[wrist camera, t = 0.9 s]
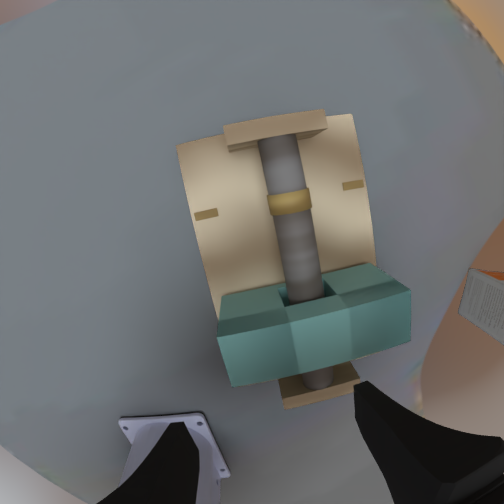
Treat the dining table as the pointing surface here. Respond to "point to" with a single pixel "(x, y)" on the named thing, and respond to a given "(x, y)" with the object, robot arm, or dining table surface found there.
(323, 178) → the pipe jig
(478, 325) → the skincare box
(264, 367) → the collar
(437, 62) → the dining table surface
